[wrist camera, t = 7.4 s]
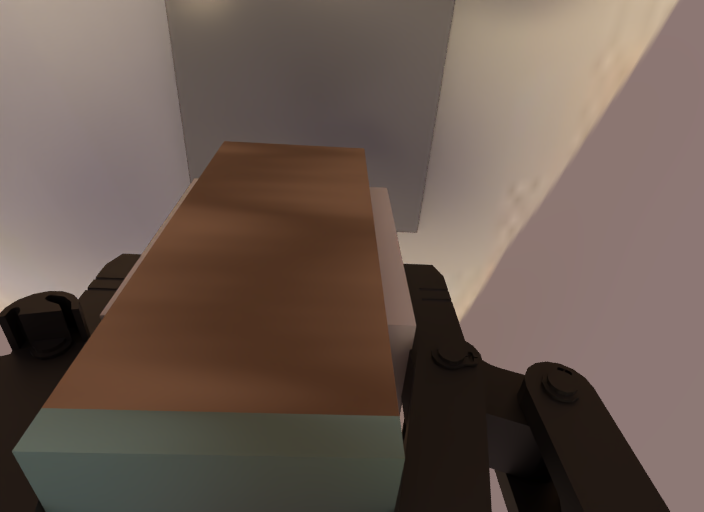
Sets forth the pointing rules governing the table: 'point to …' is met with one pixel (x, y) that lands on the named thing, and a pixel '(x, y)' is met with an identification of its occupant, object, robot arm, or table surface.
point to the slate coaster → (315, 81)
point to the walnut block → (237, 356)
